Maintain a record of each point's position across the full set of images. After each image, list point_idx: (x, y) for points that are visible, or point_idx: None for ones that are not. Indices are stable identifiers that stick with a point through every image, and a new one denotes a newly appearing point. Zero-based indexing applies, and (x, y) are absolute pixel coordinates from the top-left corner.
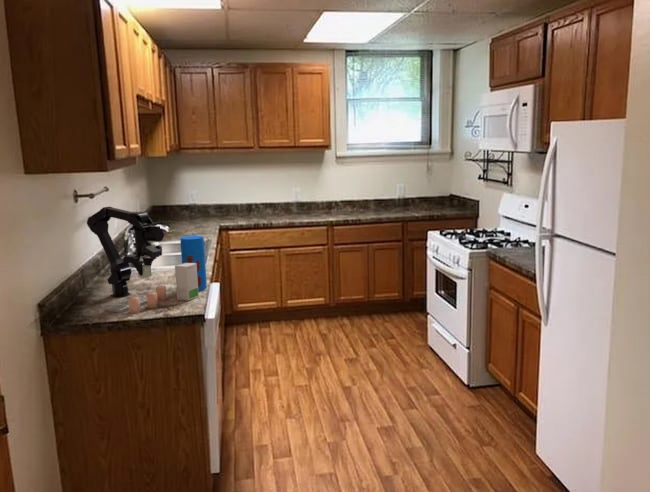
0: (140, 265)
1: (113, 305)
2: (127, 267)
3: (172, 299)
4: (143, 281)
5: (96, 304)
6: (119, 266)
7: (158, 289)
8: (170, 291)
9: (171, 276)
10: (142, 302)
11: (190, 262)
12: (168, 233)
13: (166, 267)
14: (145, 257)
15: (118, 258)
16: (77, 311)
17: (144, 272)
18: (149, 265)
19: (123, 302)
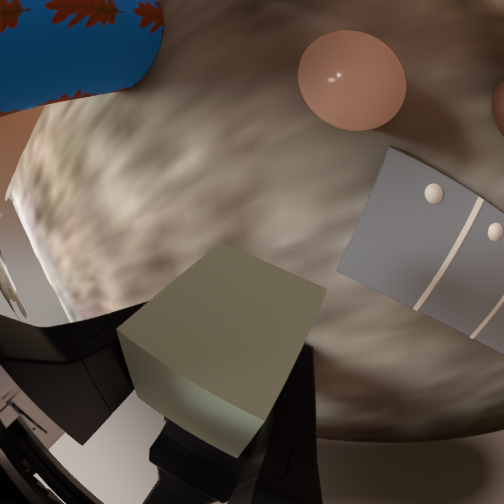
0: (310, 497)
1: (489, 342)
2: (186, 439)
3: (336, 26)
4: (114, 301)
5: (406, 401)
6: (233, 486)
7: (404, 86)
8: (174, 132)
9: (61, 232)
10: (482, 198)
11: (2, 6)
12: (14, 301)
13: (44, 270)
14: (58, 430)
15: (171, 497)
16: (473, 418)
17: (299, 348)
18: (129, 345)
19: (452, 315)
